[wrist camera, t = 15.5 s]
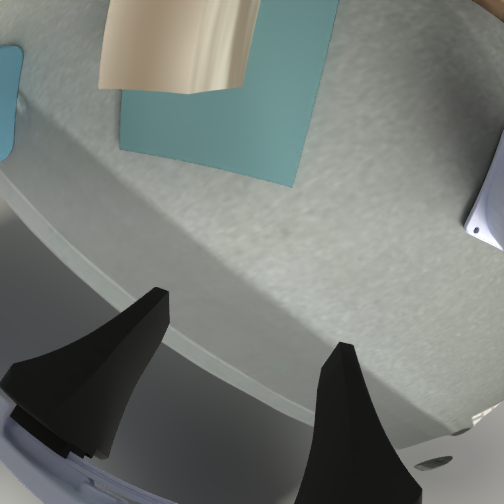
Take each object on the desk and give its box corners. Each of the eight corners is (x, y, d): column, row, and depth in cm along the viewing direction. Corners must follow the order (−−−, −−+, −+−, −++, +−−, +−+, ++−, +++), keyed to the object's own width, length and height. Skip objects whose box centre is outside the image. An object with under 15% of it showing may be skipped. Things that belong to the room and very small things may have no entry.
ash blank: (262, -8, 10) (220, -58, 5) (242, 87, 14) (188, 94, 8) (194, -11, 11) (122, -44, 5) (177, 78, 14) (98, 89, 9)
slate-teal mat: (349, -50, 8) (350, -56, 7) (293, 183, 17) (291, 187, 17) (159, -58, 9) (153, -61, 8) (125, 146, 18) (119, 149, 18)
